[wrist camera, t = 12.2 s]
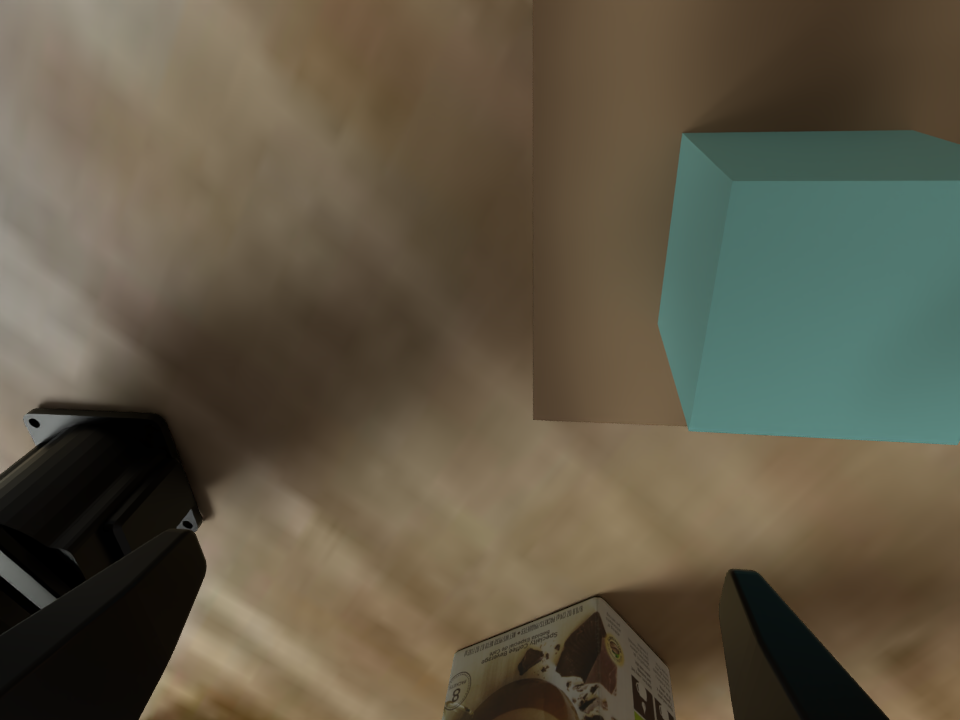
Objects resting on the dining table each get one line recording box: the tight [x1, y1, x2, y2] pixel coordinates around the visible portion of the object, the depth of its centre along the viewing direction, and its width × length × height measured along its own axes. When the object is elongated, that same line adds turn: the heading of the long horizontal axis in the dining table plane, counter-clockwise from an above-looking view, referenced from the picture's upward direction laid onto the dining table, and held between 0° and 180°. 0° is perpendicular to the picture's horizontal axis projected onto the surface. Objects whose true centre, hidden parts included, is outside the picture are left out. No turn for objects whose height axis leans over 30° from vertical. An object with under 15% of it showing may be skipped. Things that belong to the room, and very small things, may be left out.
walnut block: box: [533, 0, 960, 426], centre depth 16 cm, size 12×12×4 cm
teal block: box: [658, 130, 960, 445], centre depth 13 cm, size 5×5×5 cm
